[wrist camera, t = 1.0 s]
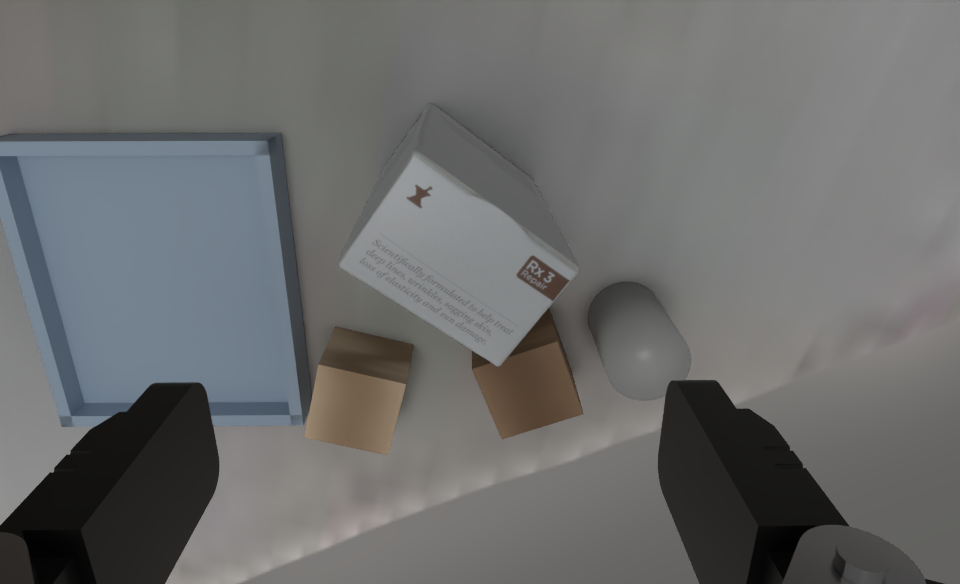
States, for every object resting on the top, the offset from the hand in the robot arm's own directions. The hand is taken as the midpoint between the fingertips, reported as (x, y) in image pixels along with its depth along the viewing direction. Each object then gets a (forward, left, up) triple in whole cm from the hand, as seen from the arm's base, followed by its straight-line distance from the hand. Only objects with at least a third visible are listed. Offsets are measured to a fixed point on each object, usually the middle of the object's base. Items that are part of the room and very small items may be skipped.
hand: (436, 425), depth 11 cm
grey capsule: (-8, +7, -20) cm, 23 cm away
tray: (+14, +5, -20) cm, 25 cm away
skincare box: (0, 0, -20) cm, 20 cm away
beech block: (+5, +10, -20) cm, 23 cm away
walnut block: (-3, +9, -20) cm, 22 cm away
